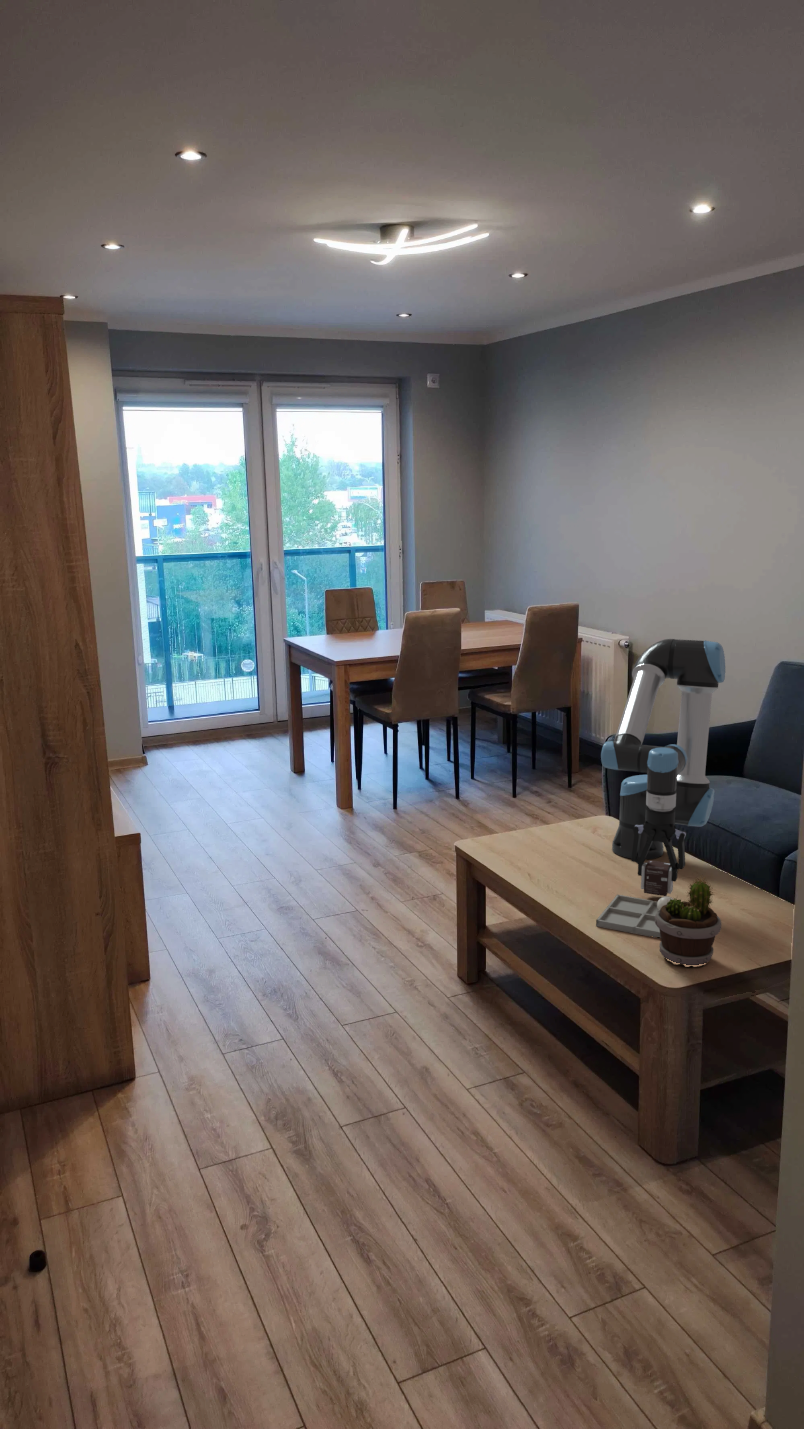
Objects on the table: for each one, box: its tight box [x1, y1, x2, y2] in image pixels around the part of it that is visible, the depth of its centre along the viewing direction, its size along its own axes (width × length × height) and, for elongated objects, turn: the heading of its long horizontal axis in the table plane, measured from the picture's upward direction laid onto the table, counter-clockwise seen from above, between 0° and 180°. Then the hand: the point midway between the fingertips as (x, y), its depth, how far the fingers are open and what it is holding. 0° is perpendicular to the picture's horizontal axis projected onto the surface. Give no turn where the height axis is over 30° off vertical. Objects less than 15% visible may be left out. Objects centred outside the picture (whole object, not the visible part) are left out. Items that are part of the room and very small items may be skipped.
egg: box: [657, 895, 674, 911], centre depth 257 cm, size 5×5×5 cm
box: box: [643, 859, 671, 897], centre depth 268 cm, size 6×6×7 cm
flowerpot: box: [655, 875, 722, 965], centre depth 231 cm, size 14×15×20 cm
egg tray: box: [595, 893, 661, 939], centre depth 255 cm, size 19×19×2 cm
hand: (656, 889), depth 269 cm, fingers closed on box, 6 cm apart
